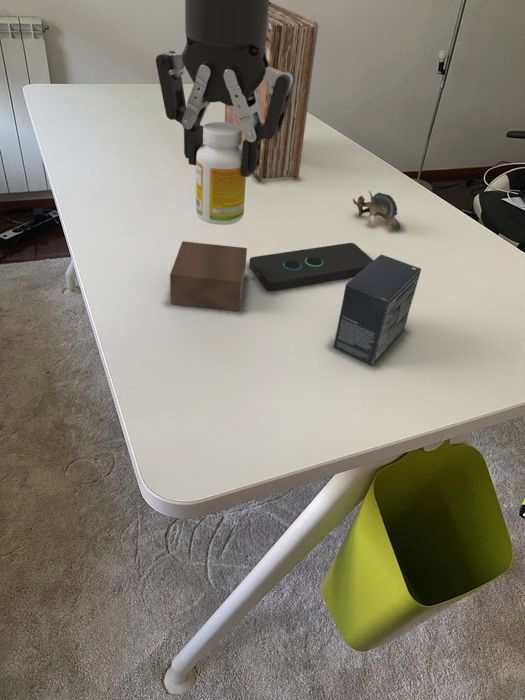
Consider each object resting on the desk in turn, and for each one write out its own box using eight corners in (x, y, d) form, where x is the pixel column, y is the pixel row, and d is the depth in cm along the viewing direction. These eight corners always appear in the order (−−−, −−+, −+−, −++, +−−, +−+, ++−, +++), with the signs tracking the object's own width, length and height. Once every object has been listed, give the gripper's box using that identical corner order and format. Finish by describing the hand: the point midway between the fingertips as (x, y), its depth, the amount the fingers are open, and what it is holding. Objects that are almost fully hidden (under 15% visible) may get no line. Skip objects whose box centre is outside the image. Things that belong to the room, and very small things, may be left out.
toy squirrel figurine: (347, 220, 104) (393, 225, 100) (355, 182, 104) (402, 186, 100) (359, 229, 111) (403, 234, 107) (367, 193, 110) (411, 198, 106)
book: (298, 180, 121) (319, 23, 102) (259, 182, 118) (273, 21, 99) (258, 140, 139) (269, 1, 120) (223, 142, 136) (229, -1, 117)
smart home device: (248, 256, 89) (352, 241, 96) (247, 265, 90) (350, 249, 97) (269, 282, 83) (379, 264, 91) (268, 292, 84) (376, 273, 92)
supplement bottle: (252, 215, 63) (259, 128, 57) (224, 231, 60) (228, 140, 53) (215, 201, 65) (217, 116, 59) (186, 216, 62) (185, 126, 56)
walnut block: (170, 304, 80) (169, 274, 77) (182, 269, 88) (182, 241, 84) (239, 311, 80) (241, 282, 77) (244, 275, 88) (247, 247, 84)
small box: (365, 313, 82) (380, 251, 76) (405, 331, 79) (424, 268, 73) (330, 346, 75) (343, 281, 69) (372, 367, 72) (391, 301, 66)
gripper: (133, -28, 47) (144, 166, 58) (292, -6, 44) (273, 195, 55) (173, -32, 53) (176, 145, 63) (317, -13, 50) (295, 170, 60)
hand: (221, 168), depth 59 cm, fingers closed on supplement bottle, 5 cm apart
